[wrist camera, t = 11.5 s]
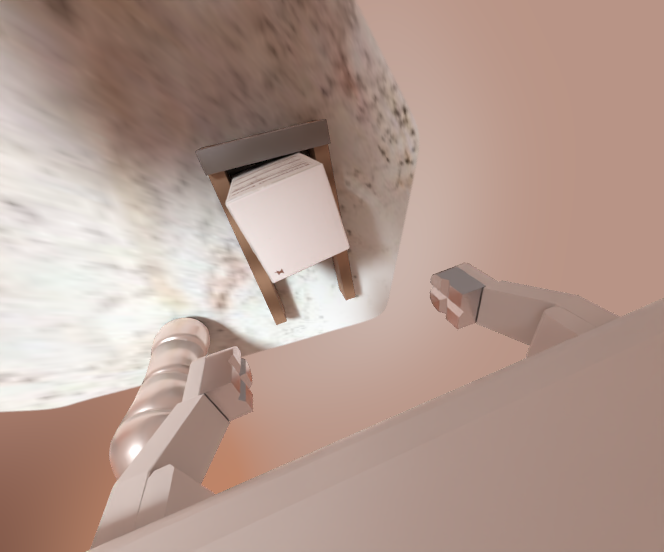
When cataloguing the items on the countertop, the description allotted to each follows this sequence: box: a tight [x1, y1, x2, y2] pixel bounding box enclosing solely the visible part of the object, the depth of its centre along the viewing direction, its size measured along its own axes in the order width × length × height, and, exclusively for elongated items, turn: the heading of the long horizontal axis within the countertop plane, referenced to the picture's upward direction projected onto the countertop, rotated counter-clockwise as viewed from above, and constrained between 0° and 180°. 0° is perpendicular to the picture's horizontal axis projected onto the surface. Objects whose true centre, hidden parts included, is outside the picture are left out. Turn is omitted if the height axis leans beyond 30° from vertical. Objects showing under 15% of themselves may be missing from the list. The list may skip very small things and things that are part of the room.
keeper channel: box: [195, 119, 355, 325], centre depth 30 cm, size 22×12×4 cm, turn 11°
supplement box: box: [225, 152, 350, 283], centre depth 23 cm, size 7×7×13 cm
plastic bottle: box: [109, 318, 210, 481], centre depth 26 cm, size 6×7×20 cm
